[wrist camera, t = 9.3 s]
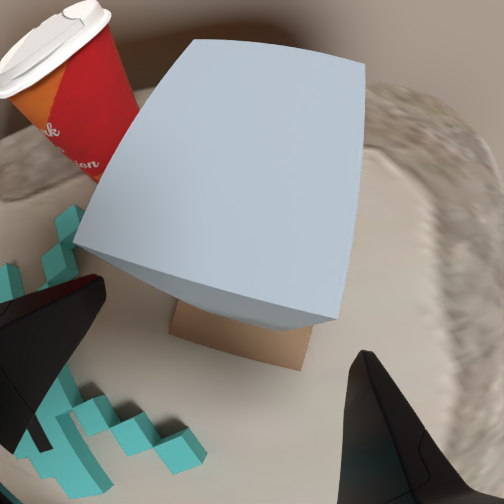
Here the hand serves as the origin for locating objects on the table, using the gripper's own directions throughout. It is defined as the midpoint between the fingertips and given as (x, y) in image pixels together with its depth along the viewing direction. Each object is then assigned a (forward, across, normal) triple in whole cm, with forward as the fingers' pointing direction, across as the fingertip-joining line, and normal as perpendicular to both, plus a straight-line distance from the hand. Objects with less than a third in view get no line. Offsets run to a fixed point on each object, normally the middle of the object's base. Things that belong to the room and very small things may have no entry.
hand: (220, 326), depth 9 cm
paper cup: (+13, +13, -1) cm, 18 cm away
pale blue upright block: (+8, 0, +3) cm, 8 cm away
